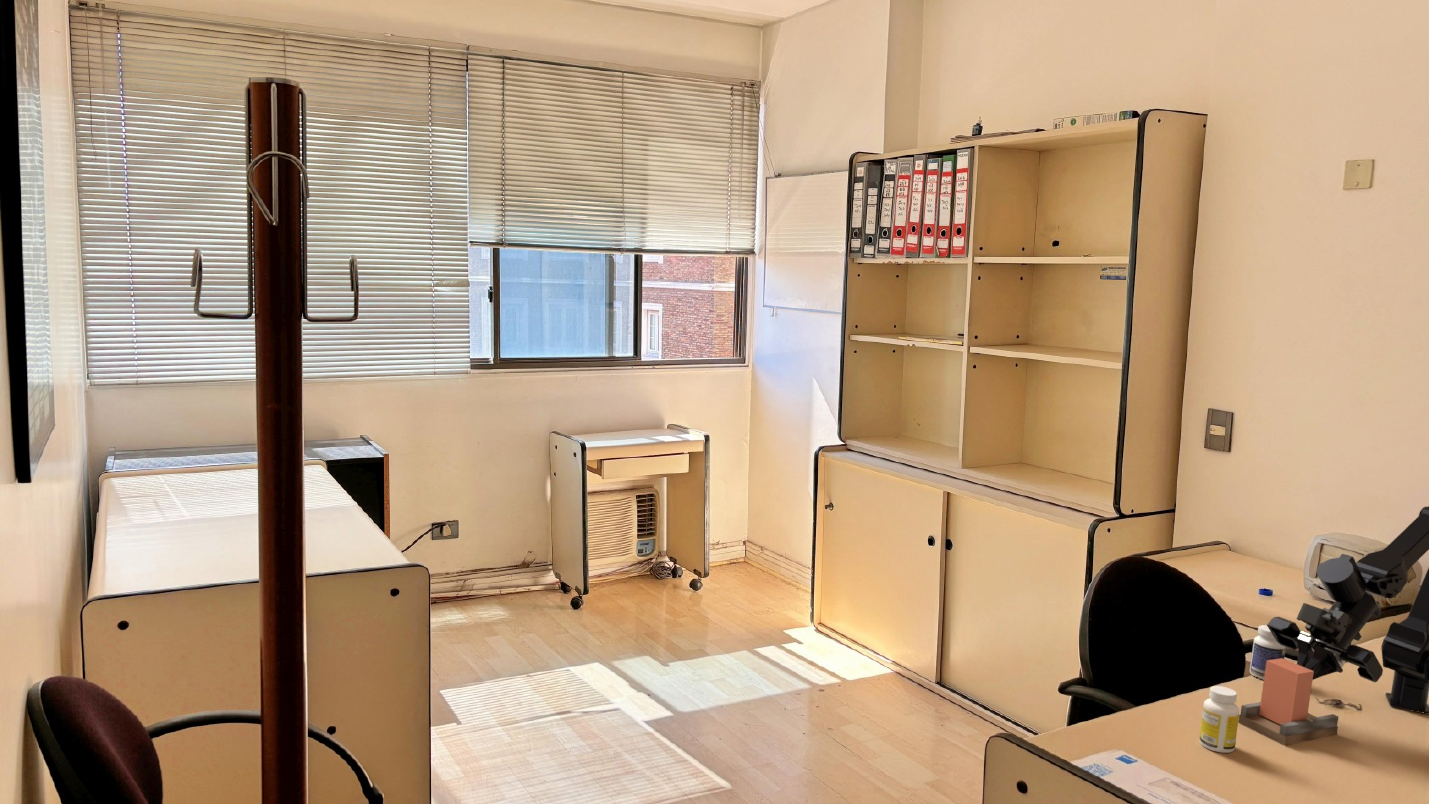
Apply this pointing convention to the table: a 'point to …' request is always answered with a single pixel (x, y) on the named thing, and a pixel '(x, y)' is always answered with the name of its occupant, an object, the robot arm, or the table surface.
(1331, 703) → the table surface
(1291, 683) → the pink upright rectangular block
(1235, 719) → the supplement bottle
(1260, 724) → the rail housing
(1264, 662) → the pill bottle
